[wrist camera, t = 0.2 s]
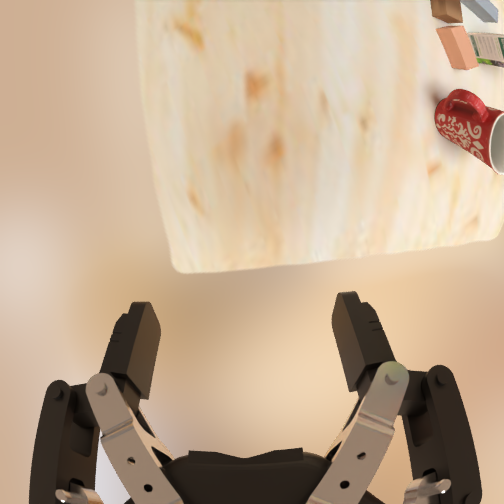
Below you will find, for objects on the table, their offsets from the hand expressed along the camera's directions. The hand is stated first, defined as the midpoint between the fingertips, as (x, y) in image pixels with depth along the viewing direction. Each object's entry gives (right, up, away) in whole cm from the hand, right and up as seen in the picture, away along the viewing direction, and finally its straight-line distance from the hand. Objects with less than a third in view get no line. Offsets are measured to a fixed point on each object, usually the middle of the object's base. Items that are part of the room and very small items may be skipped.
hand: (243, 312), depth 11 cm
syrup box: (+39, +38, +10) cm, 56 cm away
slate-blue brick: (+38, +45, +5) cm, 59 cm away
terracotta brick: (+32, +35, +12) cm, 49 cm away
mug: (+31, +25, +19) cm, 44 cm away
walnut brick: (+29, +41, +7) cm, 51 cm away
